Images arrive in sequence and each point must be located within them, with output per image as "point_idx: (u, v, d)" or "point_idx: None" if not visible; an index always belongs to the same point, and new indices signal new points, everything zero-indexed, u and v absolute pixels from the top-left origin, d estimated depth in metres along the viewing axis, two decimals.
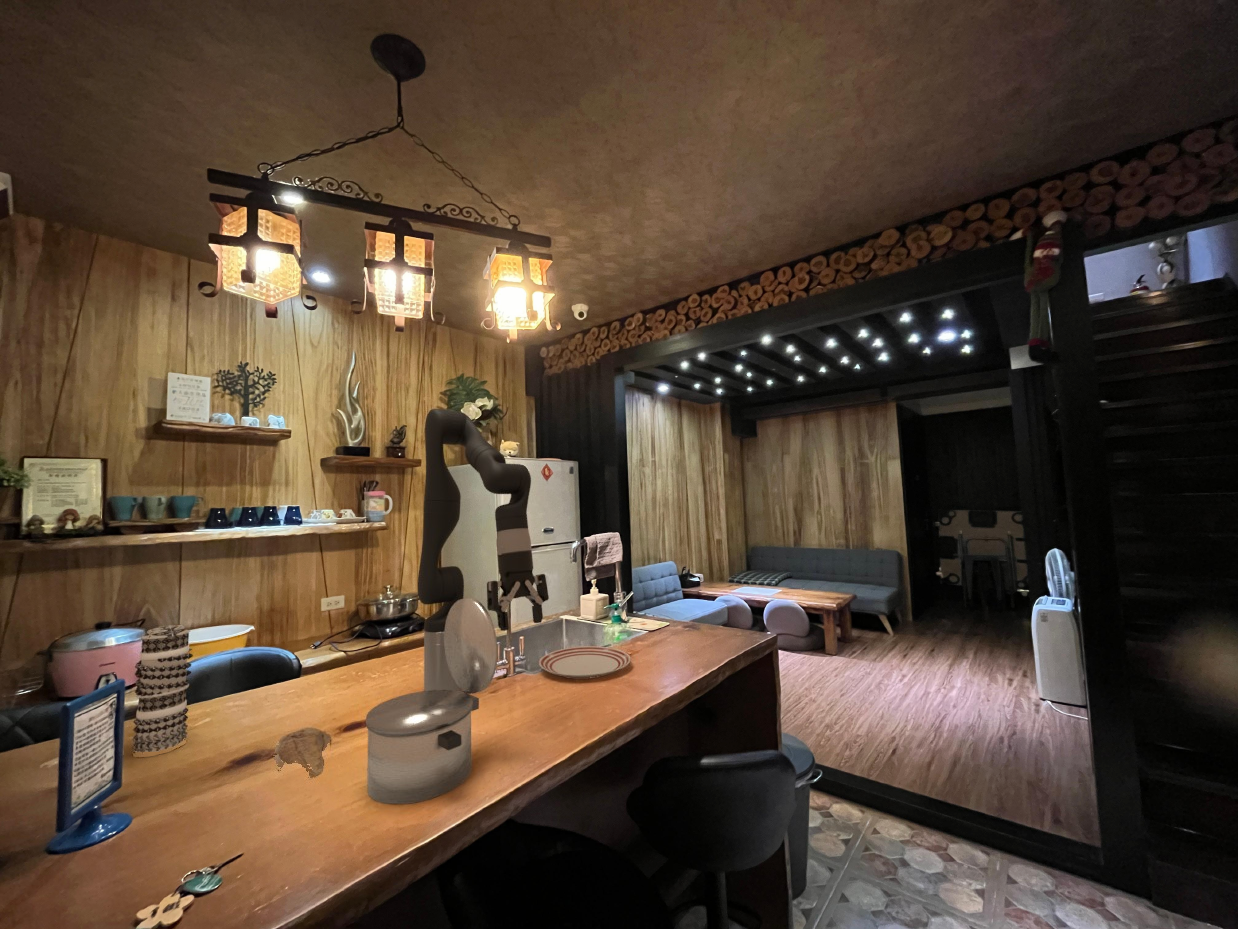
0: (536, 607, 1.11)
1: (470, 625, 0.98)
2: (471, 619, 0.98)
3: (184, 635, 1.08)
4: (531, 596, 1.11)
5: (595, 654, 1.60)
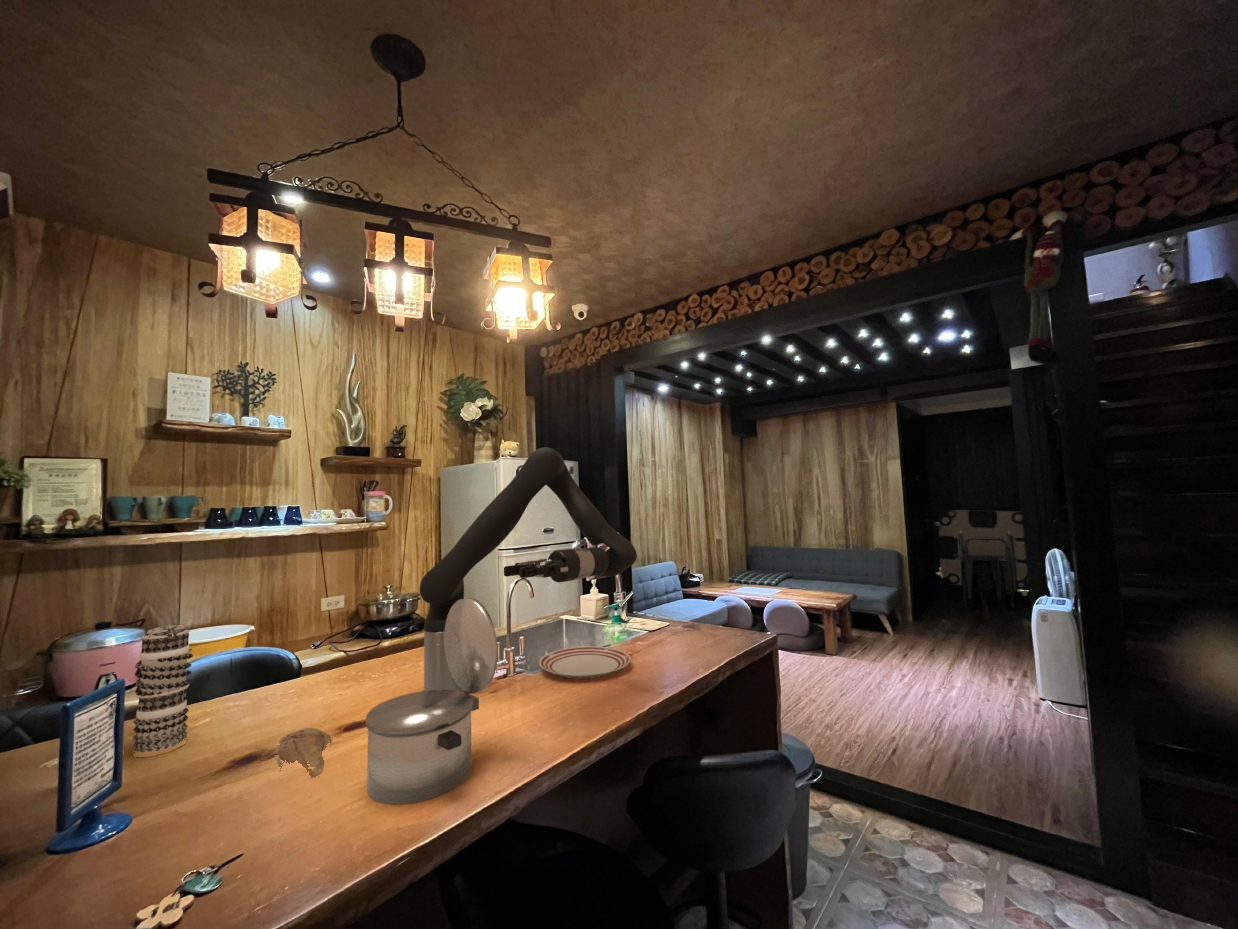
0: (518, 573, 1.12)
1: (470, 625, 0.98)
2: (471, 619, 0.98)
3: (184, 635, 1.08)
4: None
5: (595, 654, 1.60)
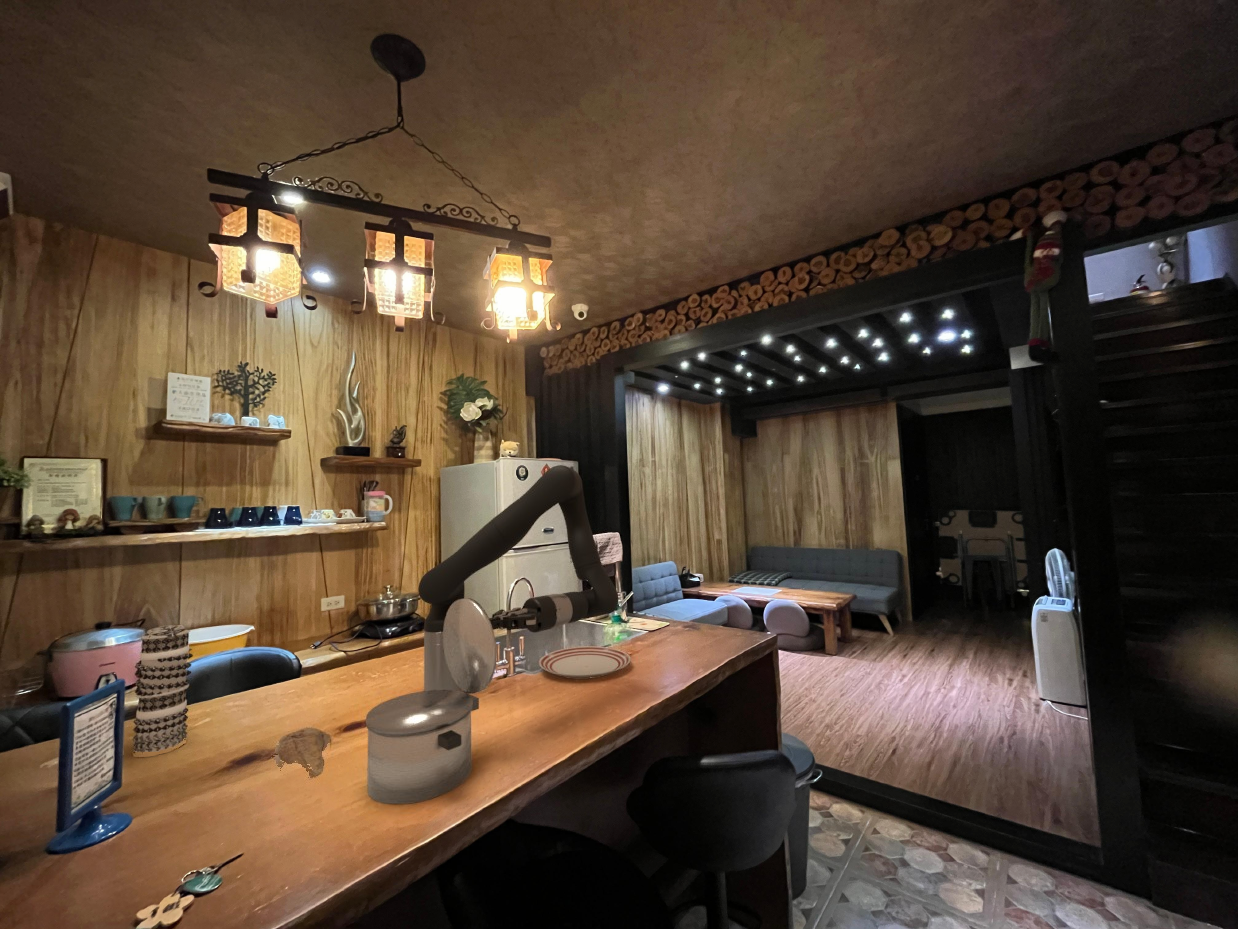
0: None
1: (468, 625, 0.98)
2: (469, 619, 0.98)
3: (184, 635, 1.08)
4: None
5: (595, 654, 1.60)
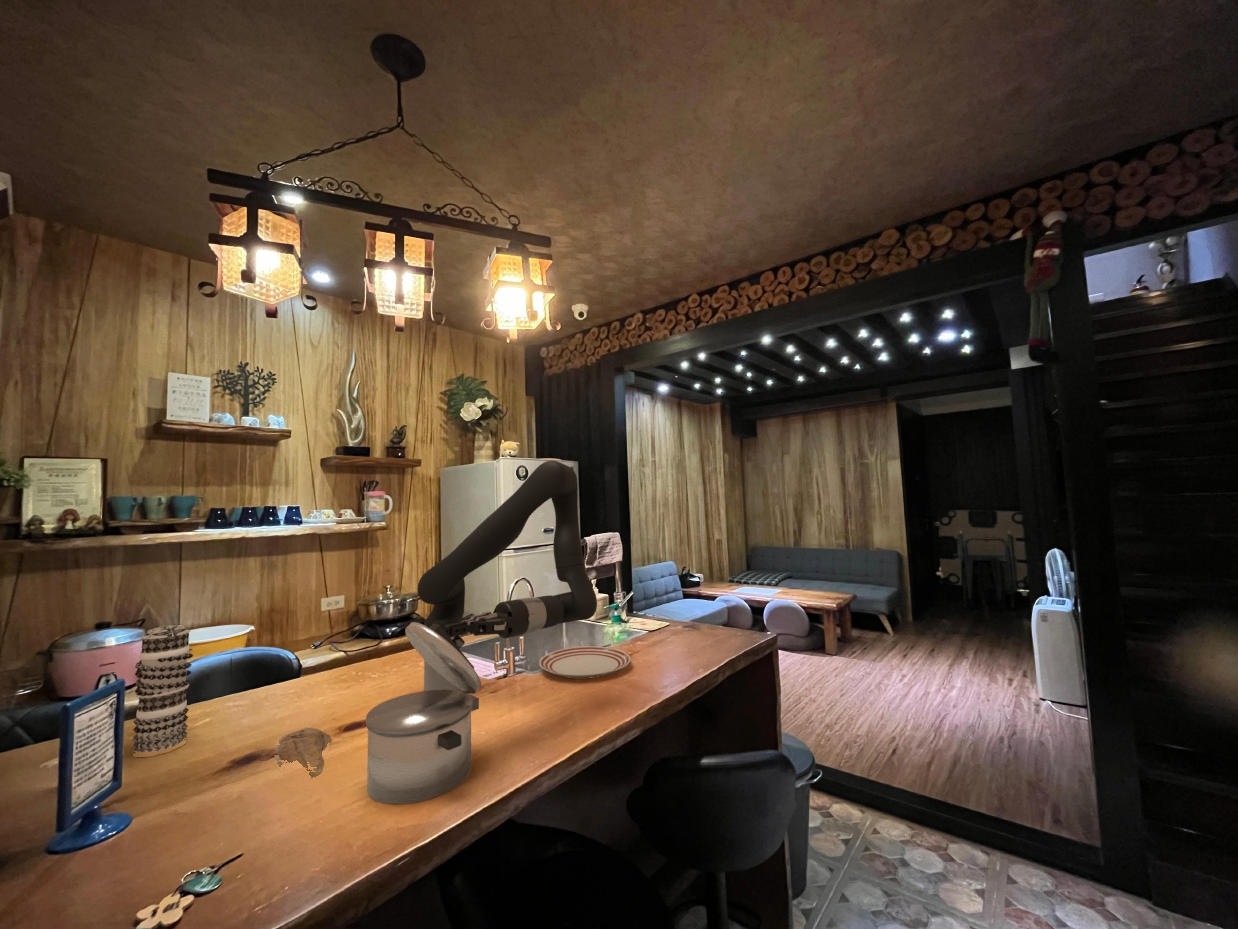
0: None
1: (432, 647, 0.92)
2: (429, 643, 0.92)
3: (184, 635, 1.08)
4: None
5: (595, 654, 1.60)
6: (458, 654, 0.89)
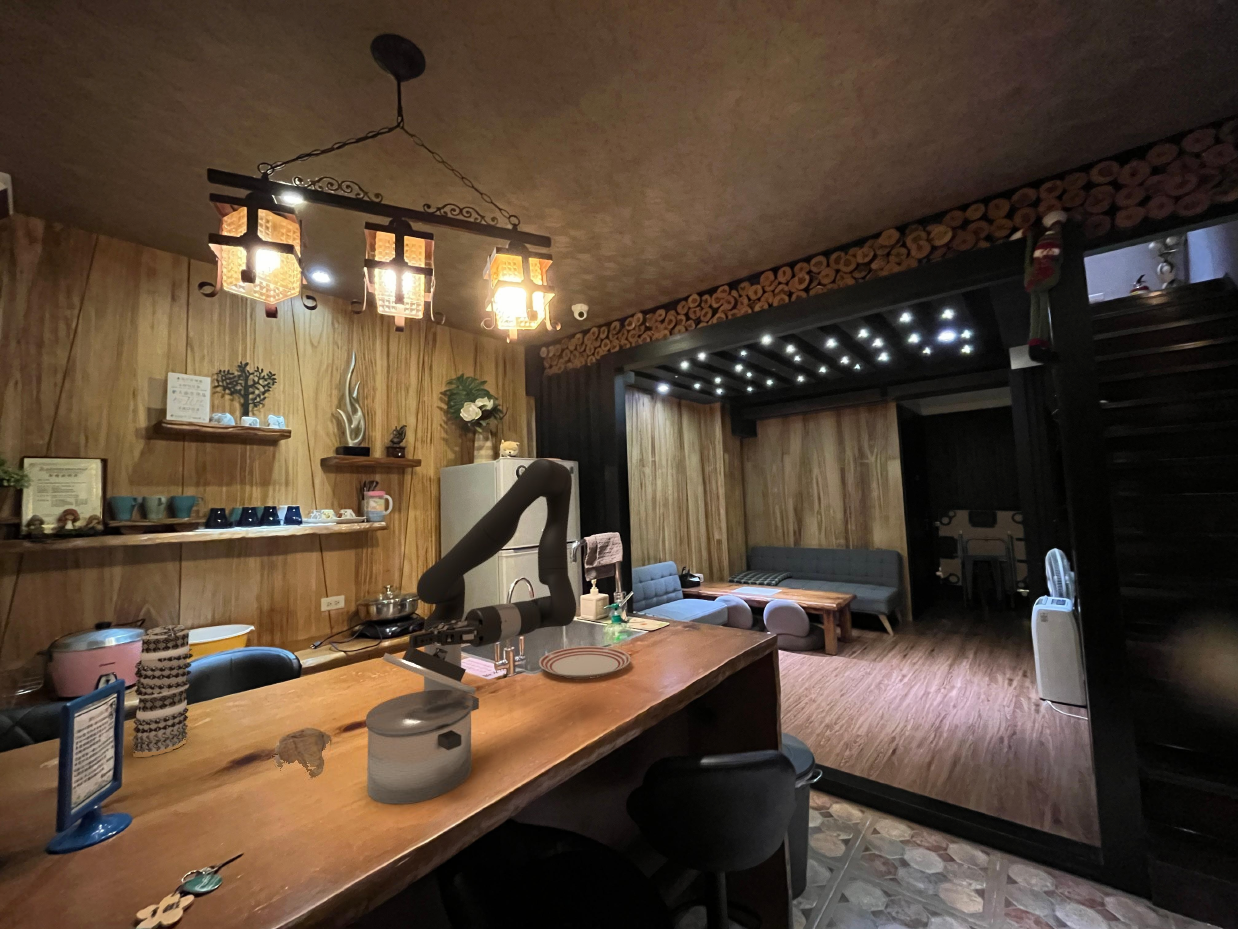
0: None
1: None
2: None
3: (184, 635, 1.08)
4: None
5: (595, 654, 1.60)
6: (441, 676, 0.86)
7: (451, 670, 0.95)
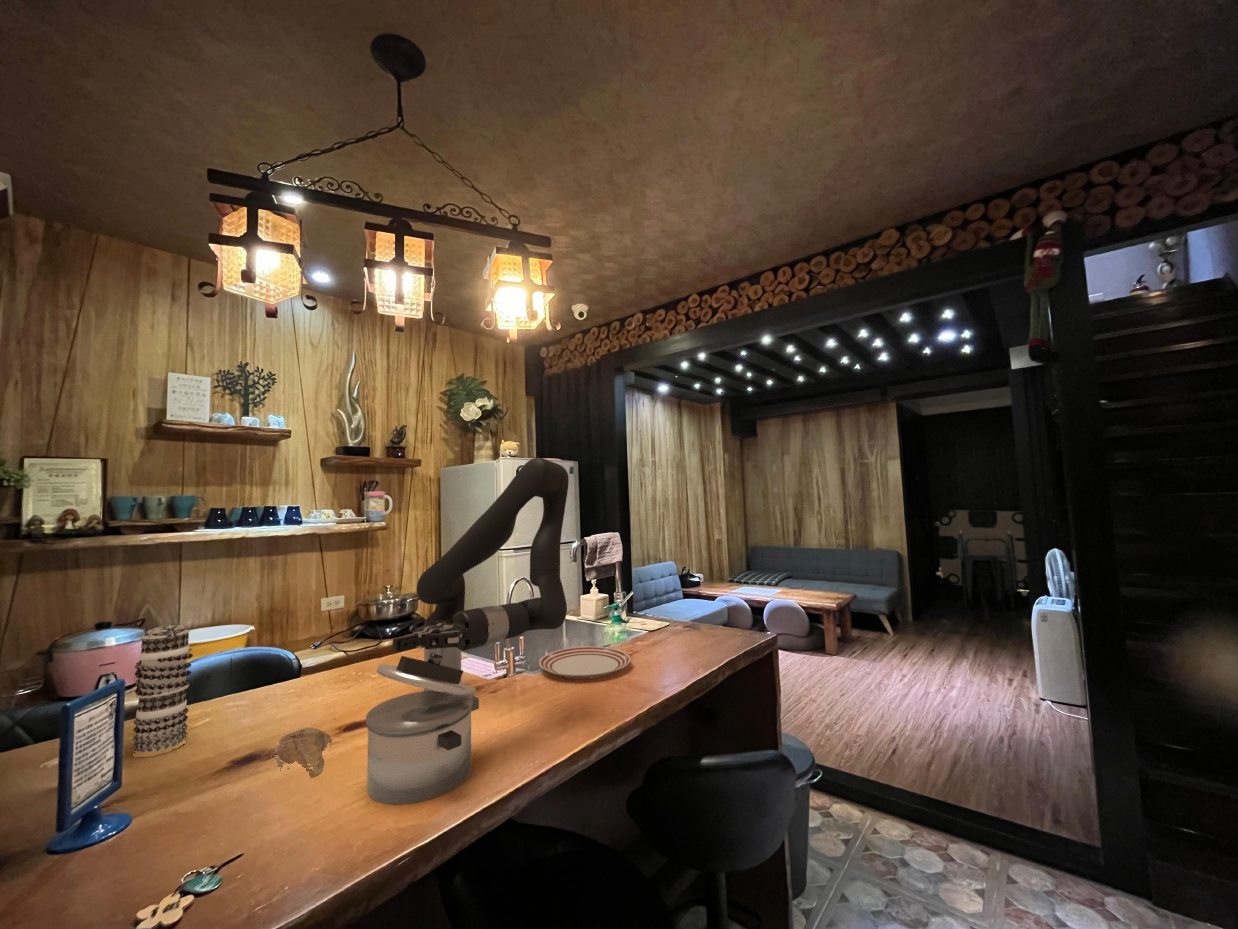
0: None
1: None
2: None
3: (184, 635, 1.08)
4: None
5: (595, 654, 1.60)
6: (436, 685, 0.85)
7: (448, 674, 0.94)
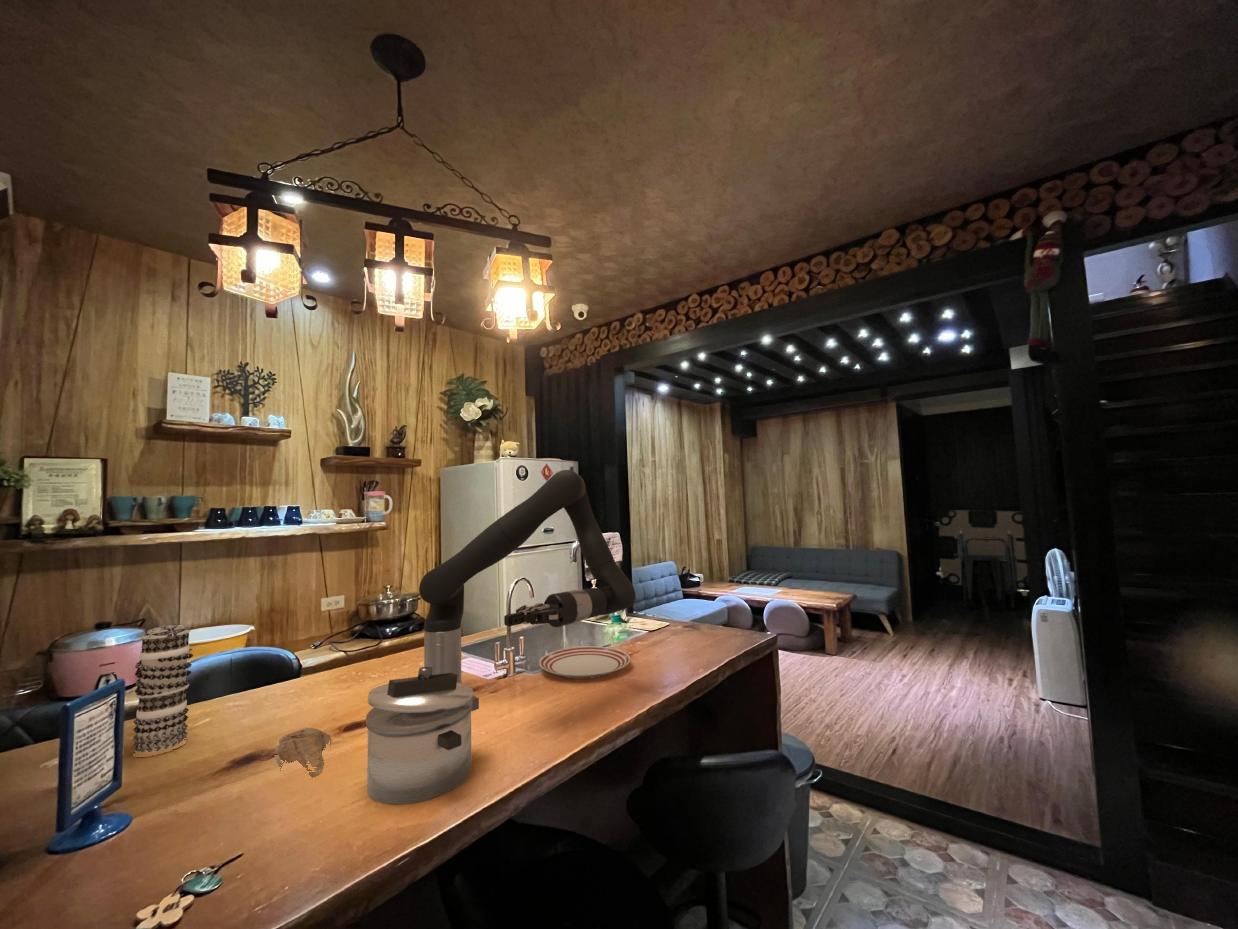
0: None
1: None
2: None
3: (184, 635, 1.08)
4: None
5: (595, 654, 1.60)
6: (430, 706, 0.84)
7: (442, 683, 0.93)
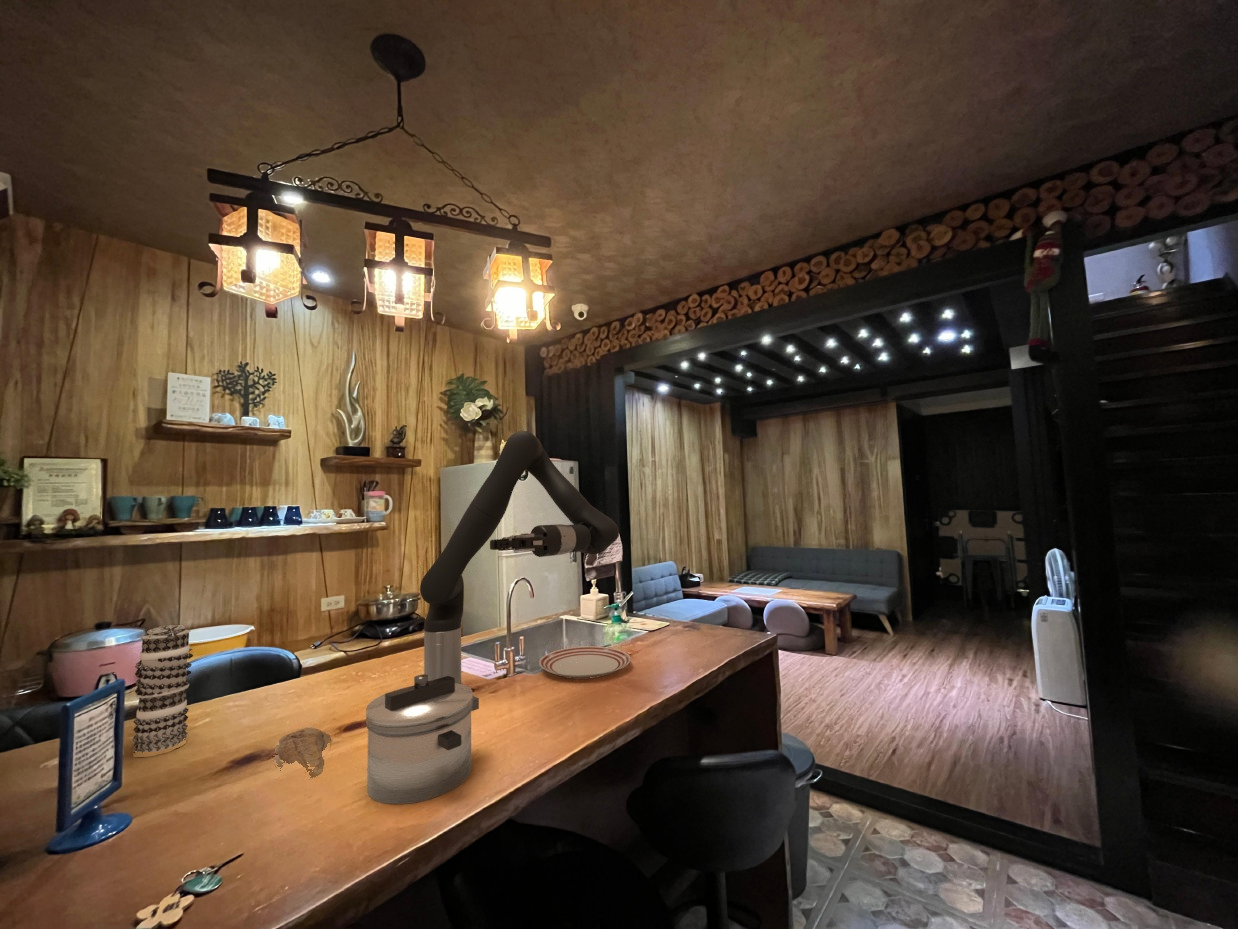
0: None
1: None
2: None
3: (184, 635, 1.08)
4: None
5: (595, 654, 1.60)
6: (428, 717, 0.84)
7: (440, 688, 0.93)
